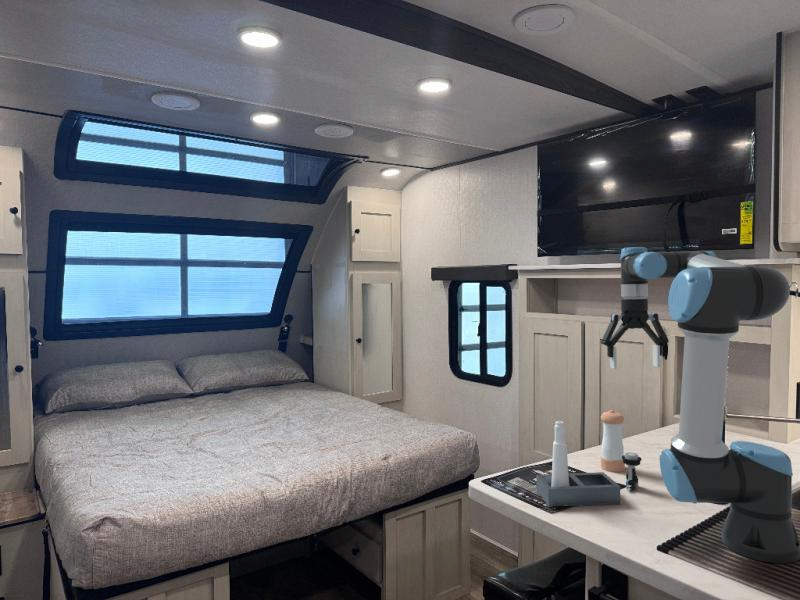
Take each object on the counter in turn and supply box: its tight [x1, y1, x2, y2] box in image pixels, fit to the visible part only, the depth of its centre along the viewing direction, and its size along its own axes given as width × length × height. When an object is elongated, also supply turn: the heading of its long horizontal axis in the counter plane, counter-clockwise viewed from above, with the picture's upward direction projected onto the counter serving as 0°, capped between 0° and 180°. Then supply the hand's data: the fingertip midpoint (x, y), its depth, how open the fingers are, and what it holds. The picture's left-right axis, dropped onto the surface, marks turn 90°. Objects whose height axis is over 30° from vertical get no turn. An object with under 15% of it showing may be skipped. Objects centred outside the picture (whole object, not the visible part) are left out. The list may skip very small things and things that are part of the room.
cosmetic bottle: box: [551, 420, 570, 487], centre depth 153 cm, size 6×6×22 cm
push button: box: [622, 452, 642, 491], centre depth 159 cm, size 7×5×10 cm
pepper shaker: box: [600, 409, 626, 473], centre depth 176 cm, size 7×7×19 cm
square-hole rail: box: [535, 471, 621, 508], centre depth 154 cm, size 20×11×5 cm, turn 92°
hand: (634, 367), depth 166 cm, fingers open, 13 cm apart
